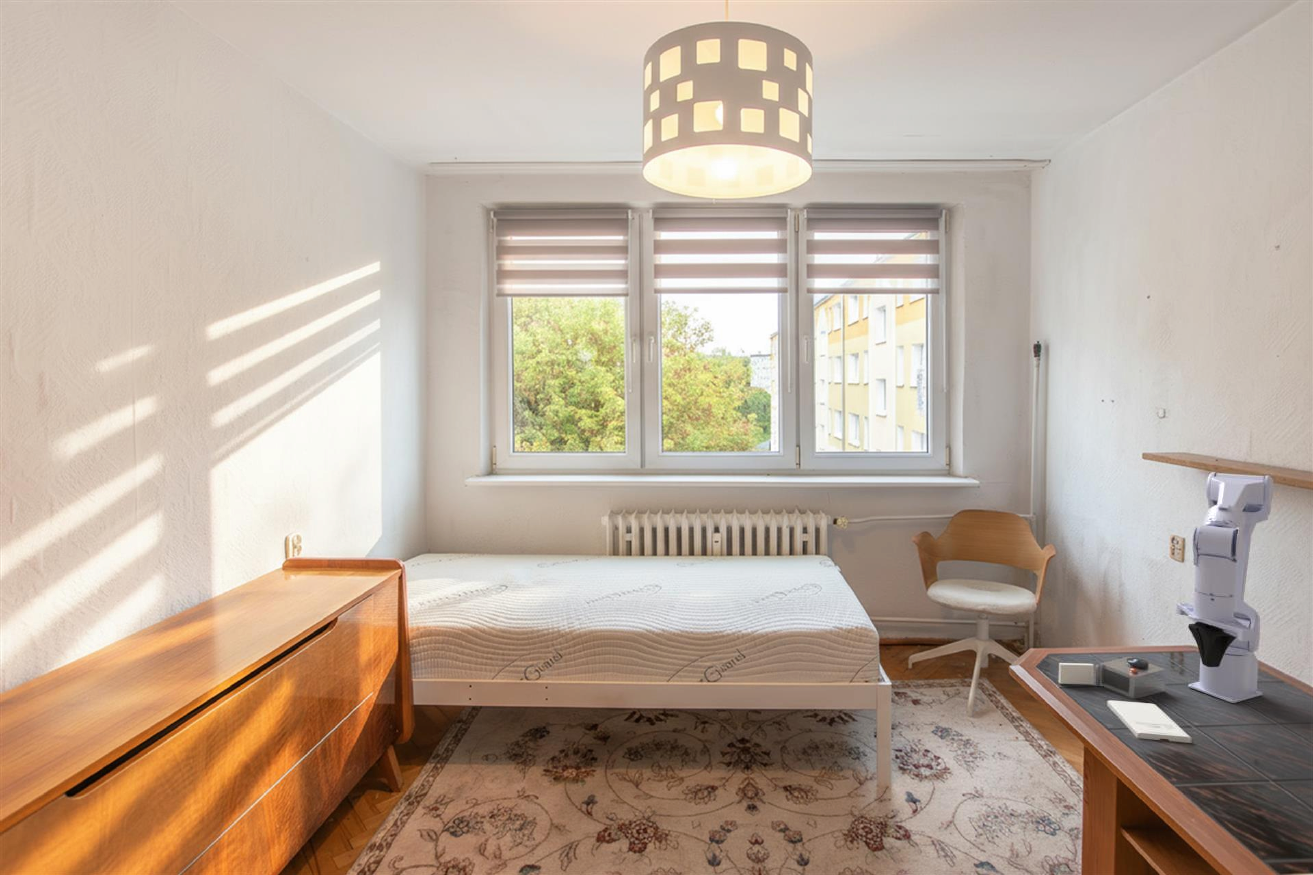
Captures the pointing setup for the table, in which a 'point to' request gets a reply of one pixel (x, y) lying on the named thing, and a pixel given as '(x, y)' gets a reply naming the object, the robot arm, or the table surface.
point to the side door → (1078, 673)
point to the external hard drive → (1148, 721)
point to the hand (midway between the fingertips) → (1210, 665)
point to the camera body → (1132, 677)
